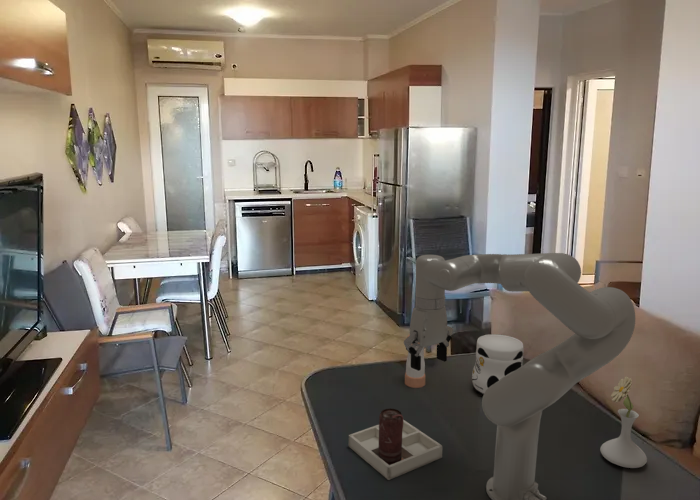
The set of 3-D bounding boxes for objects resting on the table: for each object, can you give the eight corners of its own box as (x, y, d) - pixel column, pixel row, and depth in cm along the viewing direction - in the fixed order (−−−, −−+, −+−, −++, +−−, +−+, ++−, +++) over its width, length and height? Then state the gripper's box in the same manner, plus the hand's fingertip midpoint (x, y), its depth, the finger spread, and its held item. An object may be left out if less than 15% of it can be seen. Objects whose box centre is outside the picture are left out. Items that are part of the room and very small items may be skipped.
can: (401, 469, 139) (402, 420, 137) (376, 466, 141) (377, 417, 138) (403, 456, 145) (405, 408, 142) (380, 453, 146) (381, 406, 144)
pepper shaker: (428, 386, 189) (431, 334, 185) (410, 389, 187) (412, 337, 183) (418, 377, 196) (420, 327, 192) (401, 380, 193) (402, 330, 189)
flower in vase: (605, 443, 154) (615, 361, 149) (650, 458, 147) (661, 373, 142) (592, 464, 144) (602, 377, 139) (639, 481, 137) (651, 390, 132)
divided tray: (442, 457, 146) (442, 445, 146) (388, 480, 136) (388, 467, 136) (399, 427, 161) (399, 417, 161) (348, 446, 151) (348, 435, 150)
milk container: (461, 384, 191) (464, 336, 187) (502, 377, 197) (505, 330, 193) (490, 406, 175) (493, 354, 171) (533, 398, 181) (538, 347, 177)
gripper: (442, 294, 148) (441, 352, 151) (395, 305, 138) (395, 368, 141) (463, 299, 142) (461, 360, 145) (415, 311, 132) (415, 377, 135)
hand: (428, 364), depth 143 cm, fingers open, 9 cm apart
